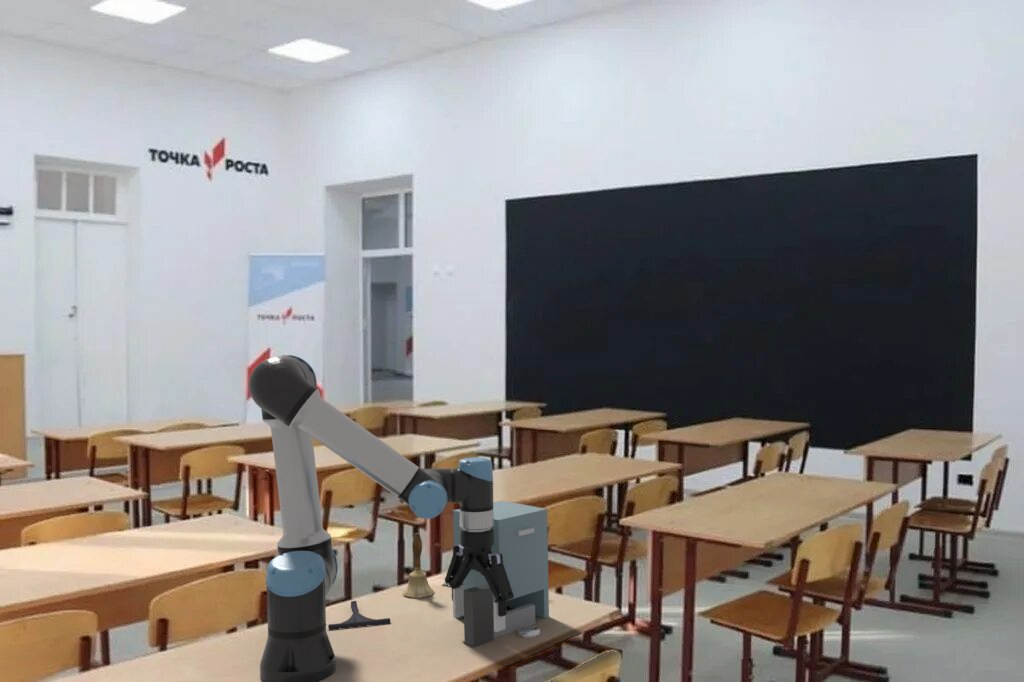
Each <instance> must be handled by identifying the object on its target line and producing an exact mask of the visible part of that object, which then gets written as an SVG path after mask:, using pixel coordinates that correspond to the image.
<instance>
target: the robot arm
mask: <svg viewBox="0 0 1024 682" xmlns="http://www.w3.org/2000/svg"><path fill="white" fill-rule="evenodd" d="M248 390H249V393H250V397H251V398H252V401H253V402H254V403H255V404H256V405H257V406H258V407H259V408H260V409H261V417H262V418H261V419H262V421H263V422H264V423H265V424H266V425H268V426H269V427H270V431H271V432H270V433H271V439H272V440H271V442H272V450H273V458H274V465H275V466H274V469H275V476H276V483H277V485H276V486H277V491H278V493H277V494H278V501H279V509H280V517H281V525H282V526H281V527H282V533H283V534H282V536H281V538H280V539H279V540H278V542H276V548H277V554H278V555H277V556H275V557H274V558H272V559H271V560H270V561H269V563H268V564H267V566H266V575H265V584H266V602H267V603H266V606H267V611H266V612H267V639H266V643H265V645H264V650H263V653H262V657H261V660H260V663H259V677H260V678H261V680H262V681H264V682H319V681H321V680H323V679H326V678H327V677H329V676H331V675H332V674H333V673H334V672H335V671H336V655H335V652H334V649H333V647H332V644H331V641H330V638H329V635H328V633H327V617H326V616H327V615H326V612H327V610H326V607H327V605H326V597H327V595H328V593H329V592H330V590H331V589H332V587H333V585H334V584H335V581H336V579H337V577H338V569H339V565H338V558H337V556H336V553H335V551H334V550H333V545H332V543H333V542H332V537H331V534H330V532H328V531H327V530H325V529H324V528H323V520H322V519H323V517H322V510H321V501H320V493H319V482H318V475H317V467H316V458H315V450H314V449H315V448H314V440H316V441H317V442H318V443H320V444H322V445H323V446H324V447H326V448H327V449H329V451H331V452H333V453H334V454H336V455H337V456H339V457H340V458H342V459H343V460H345V461H346V462H347V463H348V464H349V465H352V466H353V467H355V468H356V469H357V470H358V471H360V472H361V473H363V474H364V475H366V477H368V478H369V479H371V480H372V481H373V482H375V483H377V484H379V485H380V486H381V487H383V488H384V489H385V490H387V492H389V493H391V494H392V495H394V496H395V497H397V498H398V499H400V501H402V502H404V503H405V504H406V505H408V506H409V508H410V510H411V511H412V513H413V514H414V515H415V516H417V517H418V518H420V519H424V520H430V519H434V518H437V517H438V516H439V515H441V513H442V512H443V511H444V510H445V508H446V505H447V503H459V509H460V527H461V528H462V529H461V530H460V545H456V546H454V545H453V547H452V548H453V551H452V552H453V553H452V558H451V560H450V563H449V566H448V568H447V572H446V576H445V578H444V583H449V584H450V586H449V587H450V588H451V599H452V613H453V614H452V615H453V618H455V619H457V617H460V616H463V615H464V587H463V586H461V587H460V585H463V581H464V580H465V578H466V576H467V575H468V573H469V572H470V570H476V571H478V572H480V573H481V574H482V575H483V576H484V577H485V579H486V581H487V583H488V585H489V587H490V589H491V591H492V593H493V595H494V597H495V599H496V600H495V601H493V603H494V608H493V616H494V631H495V632H498V631H501V630H504V629H505V615H506V614H507V600H509V599H512V598H513V597H514V595H513V592H512V589H511V586H510V583H509V580H508V577H507V574H506V571H505V568H504V565H503V556H502V554H501V553H499V554H492V551H491V548H492V546H493V545H494V529H493V528H491V527H492V526H493V525H494V516H493V502H494V472H493V463H492V461H491V460H490V459H489V458H486V457H477V456H476V457H473V456H472V457H465V458H462V459H460V460H459V461H458V466H457V467H455V468H453V467H452V468H421V467H419V466H417V465H416V463H413V462H412V461H410V460H409V459H408V458H406V457H405V456H403V455H402V454H400V453H399V452H398V451H396V450H395V449H394V448H393V447H391V446H390V445H388V444H386V443H385V442H384V441H383V440H381V439H380V438H379V437H377V436H376V435H374V434H373V433H372V432H370V431H369V430H368V429H366V428H364V427H363V426H362V425H360V424H359V423H357V421H355V420H353V419H352V418H351V417H349V416H348V415H346V414H345V413H343V412H342V411H340V409H338V408H336V407H335V406H333V405H332V404H331V403H330V402H328V401H326V400H325V399H324V398H322V396H321V393H320V390H319V388H317V376H316V372H315V370H314V368H313V367H312V366H311V365H310V363H308V361H306V360H305V359H303V358H301V357H299V356H297V355H292V354H289V355H288V354H287V355H285V354H284V355H278V356H274V357H269V358H266V359H264V360H263V361H260V363H258V364H257V365H256V366H255V367H254V368H253V370H252V371H251V374H250V376H249V381H248ZM313 439H314V440H313ZM463 558H464V560H463ZM462 561H463V562H462ZM488 567H489V568H488ZM487 568H488V569H487ZM506 593H508V594H506ZM500 594H501V596H500Z"/></svg>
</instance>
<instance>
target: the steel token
mask: <svg viewBox="0 0 1024 682" xmlns="http://www.w3.org/2000/svg"><path fill="white" fill-rule="evenodd" d="M517 635H518V636H519V637H520V636H521V637H520V638H524V637H534V638H536V637H535V636H537V637H539V636H541V630H540V628H539V627H536V626H528V627H522V628H520V629H518V630H517ZM538 635H539V636H538Z"/></svg>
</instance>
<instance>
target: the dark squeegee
mask: <svg viewBox="0 0 1024 682" xmlns="http://www.w3.org/2000/svg"><path fill="white" fill-rule="evenodd" d="M357 603H358V601H357V600H352V601H350V609H352V610H351V613H352V612H353V613H352V615H351V616H350V617H349V618H348V619H346V620H345V621H342V622H340V623H331V624H330V623H329V624H328V626H327V627H328V631H334V630H333V629H336V630H340V629H339V628H345V629H350V628H349V627H355V628H359V627H358V626H364V627H368V626H367V625H373V626H381V625H391V618H390V617H387V618H379V619H375V618H370V617H366V616H365V615H363V614H361V613H360V612H359V606H358V604H357ZM379 624H381V625H379Z"/></svg>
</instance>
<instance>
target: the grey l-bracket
mask: <svg viewBox="0 0 1024 682" xmlns="http://www.w3.org/2000/svg"><path fill="white" fill-rule="evenodd" d="M506 611H507V610H506ZM463 622H464V623H463V625H464V626H463V627H464V628H463V629H464V644H465V645H467V646H469V647H472V648H475V647H478V646H480V645H485V644H487V643H491V642H493V641H494V639H497V638H499V636H500V637H502V636H506V635H508V634H511V633H514V632H516V630H517V631H518V629H520V628H522V627H532V626H534V625H536V615H535V605H533V604H528V605H525V606H522V607H519V608H516V609H514V608H512V609H510V610H508V611H507V614H506V615H505V629H504V630H501V631H498V632H495V631H494V608H493V593H492V591H491V589H490V587H489V586H488V585H485V584H483V585H479V586H476V587H472V588H469V589H465V590H464V618H463ZM496 637H497V638H496Z"/></svg>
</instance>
